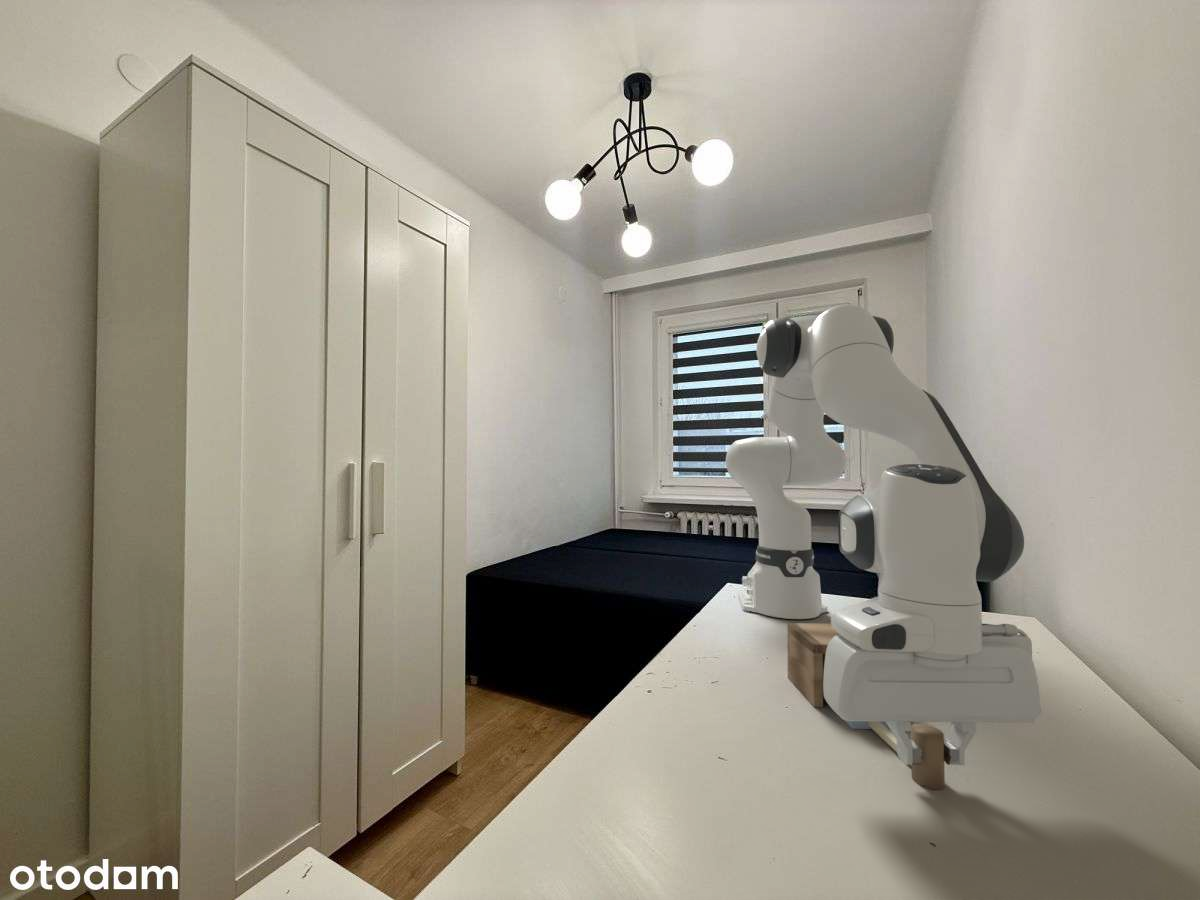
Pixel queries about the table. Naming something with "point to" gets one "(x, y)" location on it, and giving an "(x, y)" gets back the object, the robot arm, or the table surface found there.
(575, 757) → the table surface
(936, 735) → the block with stick handle
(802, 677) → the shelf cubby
